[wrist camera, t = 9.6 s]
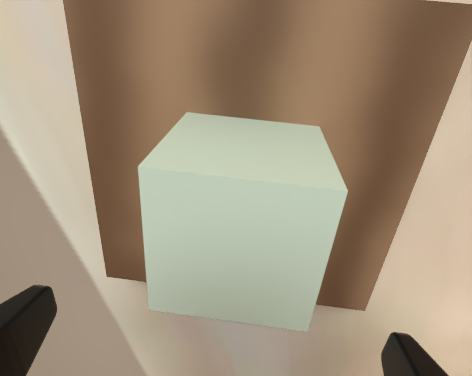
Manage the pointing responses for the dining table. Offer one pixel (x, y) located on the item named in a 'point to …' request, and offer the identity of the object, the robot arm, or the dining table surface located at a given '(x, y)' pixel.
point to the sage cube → (239, 219)
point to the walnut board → (269, 102)
